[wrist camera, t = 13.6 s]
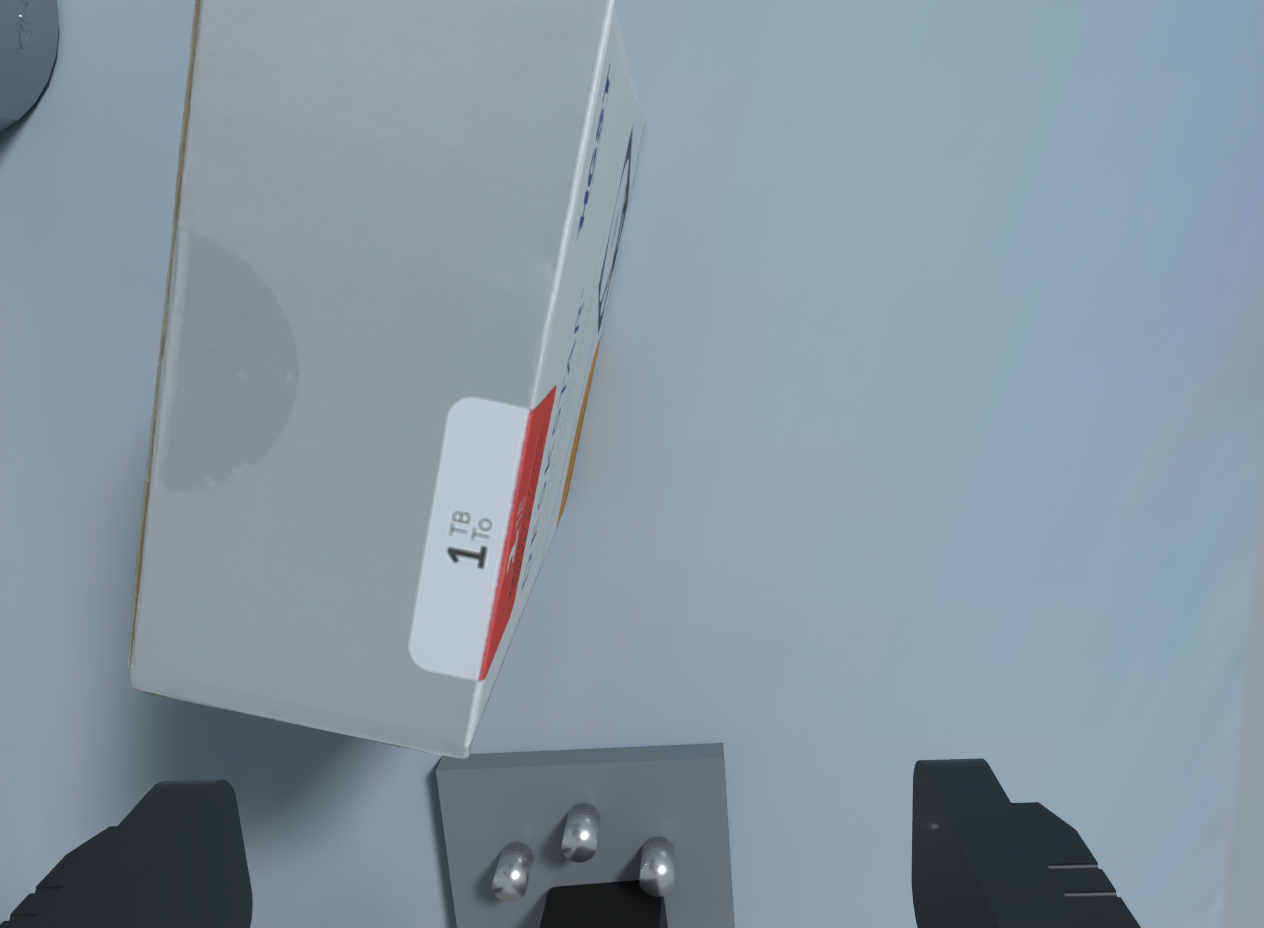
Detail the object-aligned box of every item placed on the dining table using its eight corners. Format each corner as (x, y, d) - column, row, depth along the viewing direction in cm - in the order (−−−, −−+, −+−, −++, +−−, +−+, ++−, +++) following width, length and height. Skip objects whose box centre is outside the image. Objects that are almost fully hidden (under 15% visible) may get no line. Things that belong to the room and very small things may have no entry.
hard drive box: (569, 512, 40) (463, 781, 21) (383, 471, 40) (103, 702, 21) (652, 112, 36) (617, -15, 17) (447, 66, 36) (178, -111, 17)
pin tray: (478, 1030, 46) (464, 1088, 43) (442, 755, 43) (423, 797, 40) (740, 1023, 45) (744, 1082, 42) (722, 743, 42) (725, 784, 39)
